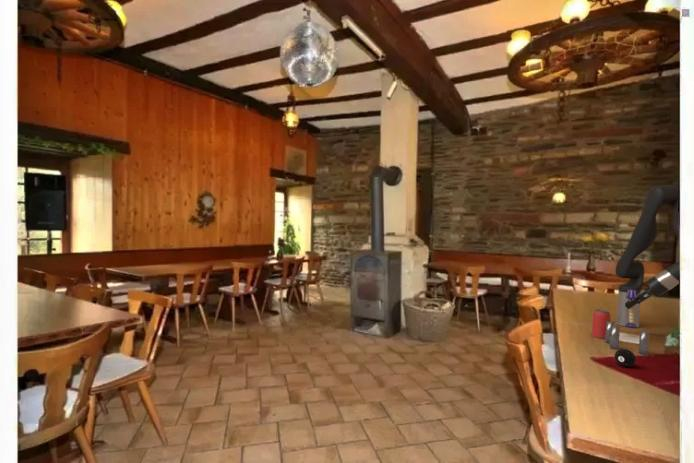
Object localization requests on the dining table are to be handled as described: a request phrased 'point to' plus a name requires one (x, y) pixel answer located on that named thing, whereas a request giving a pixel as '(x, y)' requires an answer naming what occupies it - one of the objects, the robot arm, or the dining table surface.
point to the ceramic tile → (629, 338)
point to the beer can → (600, 323)
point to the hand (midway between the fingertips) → (626, 306)
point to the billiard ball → (625, 357)
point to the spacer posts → (613, 338)
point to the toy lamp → (631, 295)
